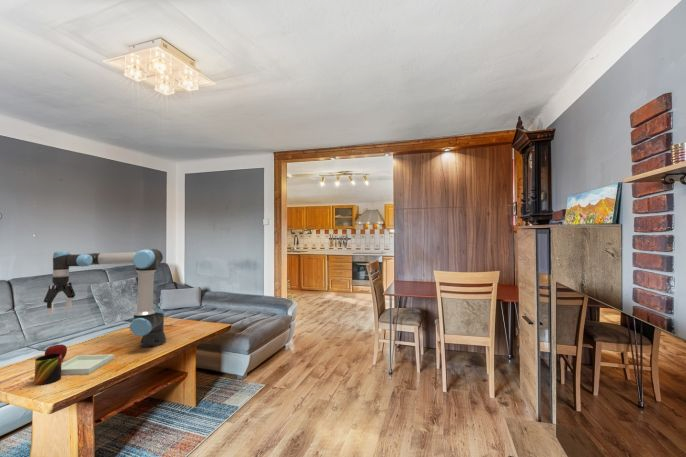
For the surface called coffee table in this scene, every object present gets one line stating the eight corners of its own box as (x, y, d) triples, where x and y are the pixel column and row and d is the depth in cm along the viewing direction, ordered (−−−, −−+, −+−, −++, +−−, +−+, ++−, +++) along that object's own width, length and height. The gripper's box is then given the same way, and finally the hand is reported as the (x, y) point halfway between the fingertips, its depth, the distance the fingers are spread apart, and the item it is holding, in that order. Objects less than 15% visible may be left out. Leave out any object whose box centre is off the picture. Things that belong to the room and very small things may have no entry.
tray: (113, 359, 182) (113, 354, 182) (88, 374, 162) (89, 368, 162) (77, 360, 180) (77, 355, 180) (47, 375, 160) (48, 370, 160)
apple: (62, 358, 185) (62, 341, 185) (69, 360, 180) (70, 343, 181) (41, 363, 176) (41, 346, 177) (48, 366, 172) (49, 348, 172)
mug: (40, 376, 160) (40, 353, 160) (66, 376, 159) (66, 353, 160) (20, 385, 150) (21, 360, 150) (48, 385, 150) (48, 360, 150)
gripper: (70, 274, 203) (69, 306, 202) (35, 278, 178) (34, 315, 177) (82, 273, 203) (81, 306, 203) (49, 278, 178) (48, 315, 178)
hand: (59, 310), depth 190 cm, fingers open, 13 cm apart
